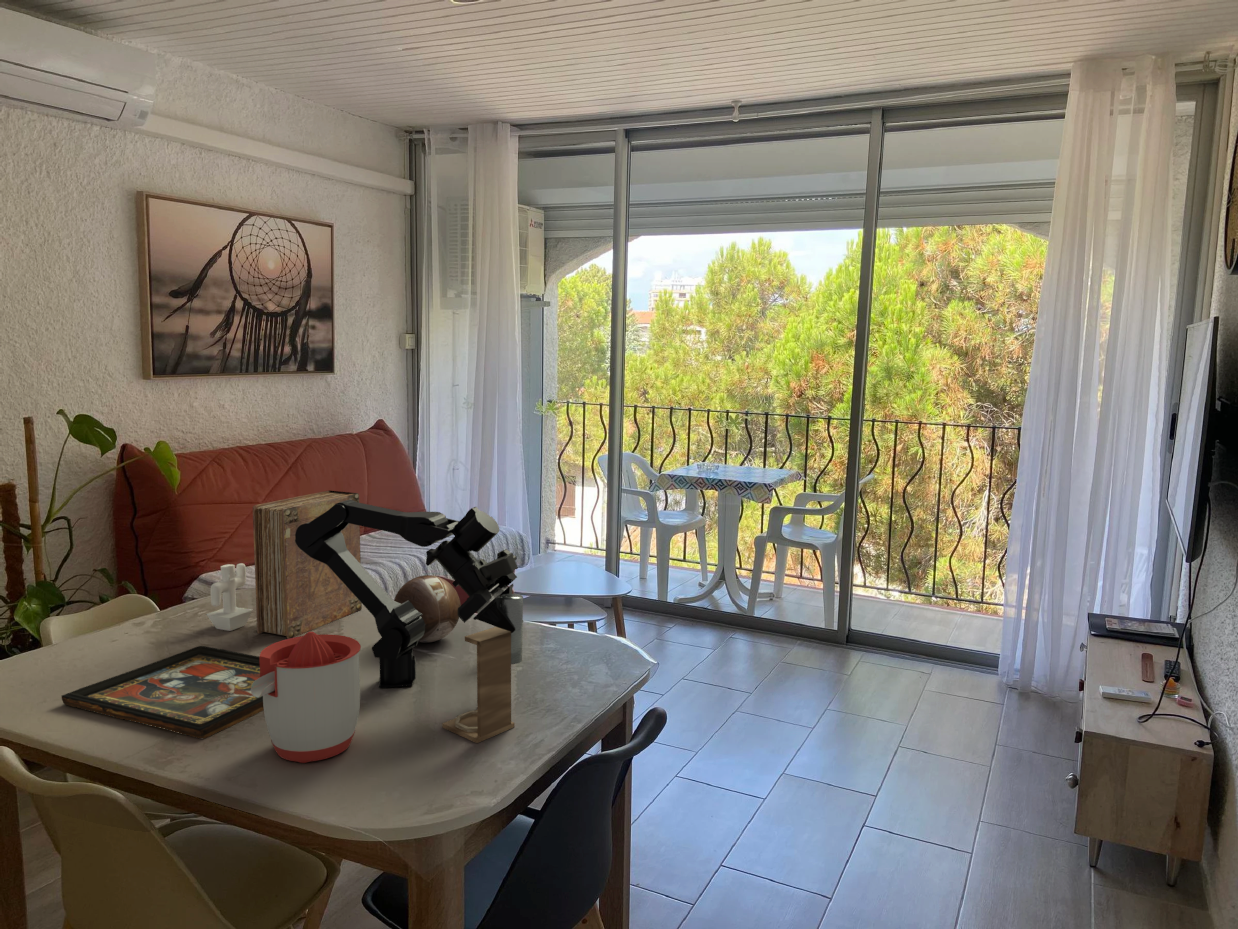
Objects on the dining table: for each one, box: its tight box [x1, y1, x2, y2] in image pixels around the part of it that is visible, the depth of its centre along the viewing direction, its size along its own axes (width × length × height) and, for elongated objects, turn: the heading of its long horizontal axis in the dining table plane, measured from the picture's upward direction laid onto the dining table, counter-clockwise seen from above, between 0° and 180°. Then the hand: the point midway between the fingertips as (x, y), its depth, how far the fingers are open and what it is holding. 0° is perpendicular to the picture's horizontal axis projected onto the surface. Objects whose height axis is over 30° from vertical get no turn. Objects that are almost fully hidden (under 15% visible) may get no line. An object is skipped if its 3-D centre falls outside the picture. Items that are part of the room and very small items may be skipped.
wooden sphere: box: [393, 574, 462, 644], centre depth 197 cm, size 15×15×15 cm
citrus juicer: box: [251, 630, 362, 764], centre depth 143 cm, size 16×17×20 cm
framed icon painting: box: [61, 645, 264, 739], centre depth 167 cm, size 38×35×3 cm
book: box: [252, 490, 363, 639], centre depth 208 cm, size 25×9×30 cm, turn 157°
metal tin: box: [500, 593, 524, 665], centre depth 166 cm, size 4×4×12 cm
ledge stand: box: [441, 626, 516, 744], centre depth 152 cm, size 9×9×18 cm
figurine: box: [205, 562, 254, 632], centre depth 204 cm, size 7×9×15 cm
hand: (517, 627), depth 166 cm, fingers closed on metal tin, 4 cm apart
